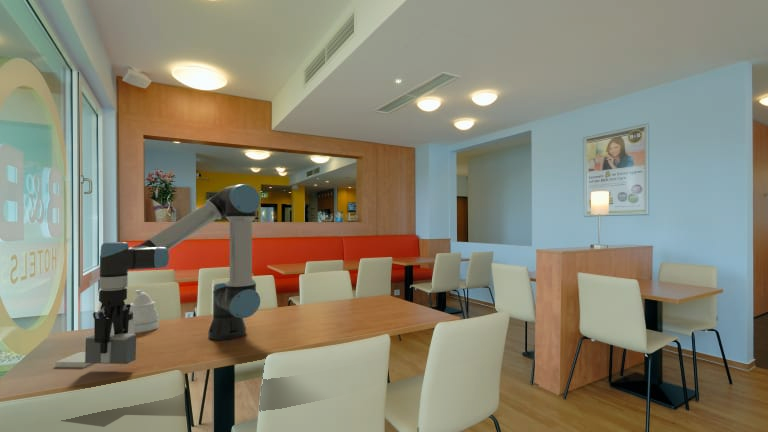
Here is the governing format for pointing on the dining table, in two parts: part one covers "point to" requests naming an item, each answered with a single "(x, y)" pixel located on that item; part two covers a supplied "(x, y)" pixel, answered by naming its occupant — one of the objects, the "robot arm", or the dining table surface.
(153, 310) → the honey pot
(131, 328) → the jar
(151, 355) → the dining table surface
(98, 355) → the grey rectangular block
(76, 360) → the tile
